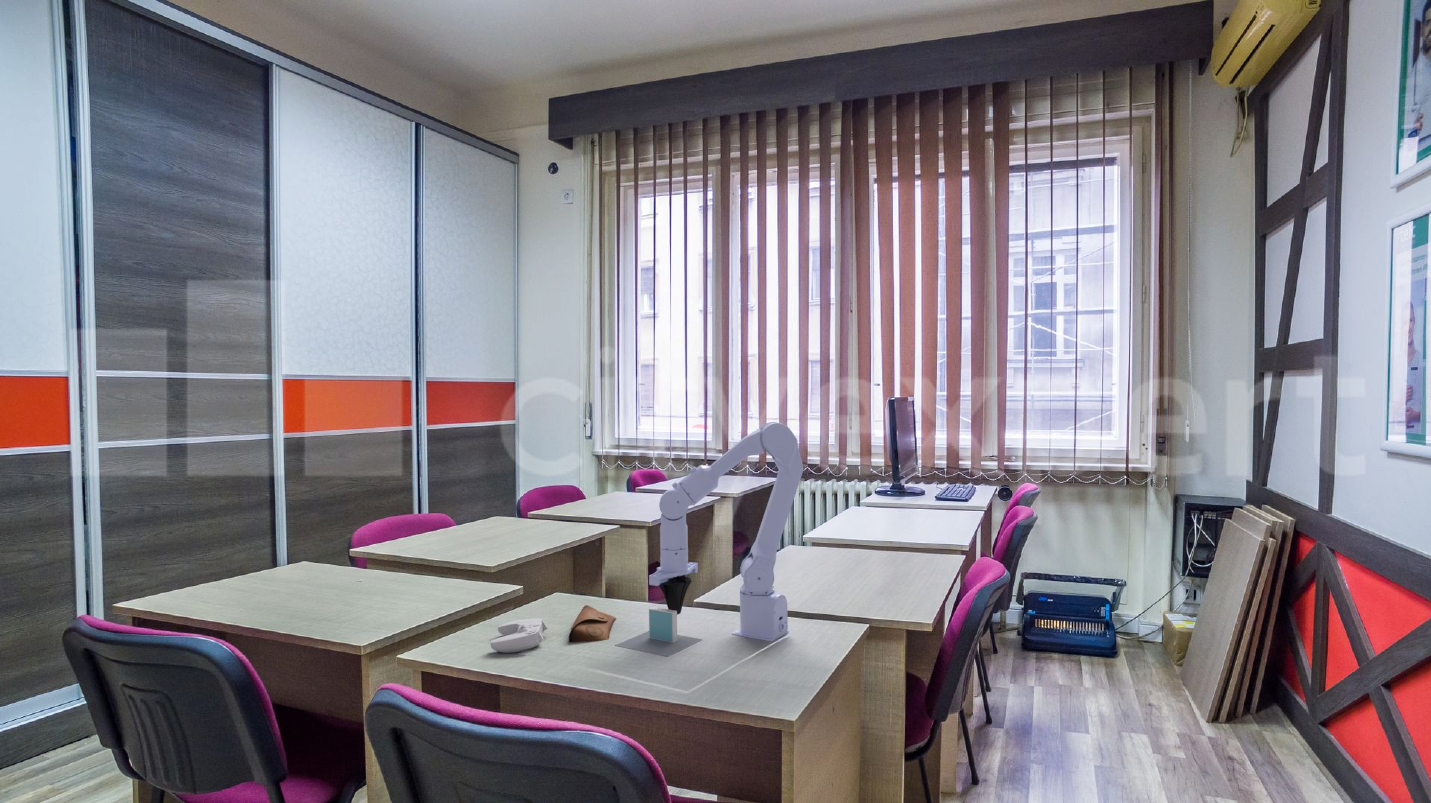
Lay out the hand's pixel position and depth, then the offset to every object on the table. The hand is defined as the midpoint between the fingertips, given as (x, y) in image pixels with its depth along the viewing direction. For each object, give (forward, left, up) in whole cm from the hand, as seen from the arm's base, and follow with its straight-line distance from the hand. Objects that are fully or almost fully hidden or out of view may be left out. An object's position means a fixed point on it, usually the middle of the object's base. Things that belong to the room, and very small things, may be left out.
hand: (674, 613), depth 159 cm
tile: (0, +4, -4) cm, 6 cm away
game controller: (+24, +20, -5) cm, 32 cm away
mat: (-1, +6, -5) cm, 8 cm away
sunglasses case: (+17, +6, -5) cm, 19 cm away
